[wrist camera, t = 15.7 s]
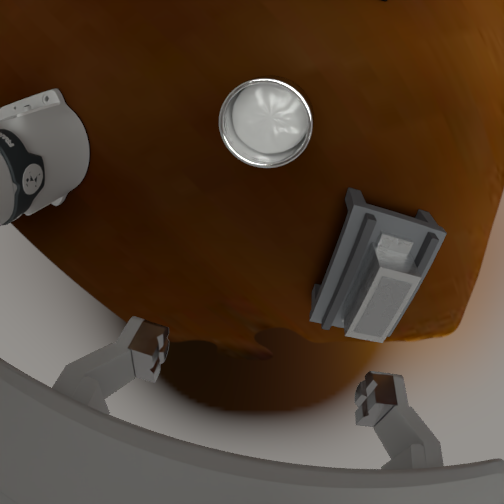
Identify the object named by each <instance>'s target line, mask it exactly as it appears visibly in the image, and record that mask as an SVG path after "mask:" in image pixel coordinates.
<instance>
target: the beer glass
mask: <svg viewBox="0 0 504 504" xmlns="http://www.w3.org/2000/svg"><path fill="white" fill-rule="evenodd" d="M313 126H314V111H313V106H312V103H311V101H310V99H309V97H308V95H307V94H306V93H305V91H304V90H303V89H302V88H301V87H300V86H299V85H297V84H296V83H294V82H293V81H291V80H289V79H287V78H284V77H280V76H273V75H267V76H260V77H256V78H253V79H251V80H248V81H247V82H244V83H242V84H241V85H239V86H237V87H236V88H235V89H234V90H232V91H231V92H230V94H229V95H228V96H227V97H226V99H225V101H224V102H223V104H222V107H221V110H220V114H219V130H220V134H221V137H222V140H223V142H224V144H225V145H226V147H227V148H228V150H229V151H230V152H231V153H232V154H233V155H234V156H235V157H236V158H238V159H239V160H241V161H242V162H244V163H246V164H249V165H251V166H255V167H260V168H274V167H279V166H282V165H285V164H287V163H289V162H291V161H293V160H294V159H296V158H297V157H298V156H299V155H300V154H301V153H302V152H303V151H304V150H305V148H306V147H307V145H308V143H309V141H310V138H311V135H312V130H313Z"/></svg>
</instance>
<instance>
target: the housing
mask: <svg viewBox="0 0 504 504" xmlns="http://www.w3.org/2000/svg"><path fill="white" fill-rule="evenodd" d="M412 245H413V241H412V240H411V239H408V238H405V237H401V236H398V235H395V234H391V233H388V232H384V231H381V232H380V234H379V237H378V239H377V242H376V243H375V242H372V243H371V245H370V248H369V250H368V252H367V255H366V257H365V259H364V262H363V264H362V266H361V269H360V271H359V273H358V275H357V277H356V280H355V282H354V284H353V286H352V288H351V291H350V293H349V295H348V297H347V299H346V301H345V303H344V305H343V308H342V309H343V316H342V322H344V330H345V336H348V337H353V338H358V339H364V340H369V341H375V342H380V343H383V341H384V340H385V338H386V337H387V335H388V334H389V332H390V331H391V329H392V327H393V326H394V324H395V323H396V321H397V319H398V318H399V316H400V314H401V313H402V311H403V309H404V308H405V306H406V304H407V303H408V301H409V299H410V297H411V296H412V294H413V292H414V290H415V289H416V287H417V285H418V283H419V281H420V280H421V278H422V277H421V275H420V273H419V271H418V269H417V267H416V264H415V262H414V260H413V258H412V256H411V254H410V250H411V247H412Z"/></svg>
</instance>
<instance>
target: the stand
mask: <svg viewBox="0 0 504 504" xmlns="http://www.w3.org/2000/svg"><path fill="white" fill-rule="evenodd" d="M345 202H346V205H347V209H348V213H347V216H346V219H345V222H344V225H343V228H342V231H341V233H340V236H339V239H338V242H337V244H336V247H335V250H334V253H333V255H332V258H331V261H330V263H329V266H328V269H327V271H326V274H325V276H324V279H323V282H322V284H321V285H319V284H315V285H314V288H313V290H312V309H311V312H310V321H312V322H317V323H322V329H326V330H329V329H330V327H331V326H336V327H341V328H344V322H342V316H343V309H342V308H343V305H344V303H345V301H346V299H347V297H348V295H349V293H350V291H351V288H352V286H353V284H354V282H355V280H356V277H357V275H358V273H359V271H360V269H361V266H362V264H363V262H364V259H365V257H366V255H367V252H368V250H369V248H370V245H371V243H372V242H375V243H376V242H377V239H378V237H379V234H380V232H381V231H384V232H388V233H391V234H395V235H398V236H401V237H405V238H408V239H411V240H412V241H413V245H412V247H411V250H410V254H411V256H412V258H413V260H414V262H415V264H416V267H417V269H418V271H419V273H420V275H421V277H422V278H421V280H420V281H419V283H418V285H417V287H416V289H415V290H414V292H413V294H412V296H411V297H410V299H409V301H408V303H407V304H406V306H405V308H404V309H403V311H402V313H401V314H400V316H399V318H398V319H397V321H396V323H395V324H394V326H393V327H392V329H391V331H390V332H389V334H388V335H387V336H389V337H390V335H391V333H392V332H393V330H394V329H395V327H396V326H397V324H398V322H399V321H400V319H401V317H402V316H403V314H404V312H405V311H406V309H407V307H408V306H409V304H410V302H411V301H412V299H413V297H414V295H415V294H416V292H417V290H418V288H419V287H420V285H421V283H422V281H423V279H424V277H425V276H426V274H427V272H428V270H429V268H430V266H431V264H432V262H433V260H434V258H435V256H436V254H437V252H438V250H439V248H440V246H441V244H442V242H443V240H444V238H445V236H446V234H447V233H446V232H445V230H444V229H443V228H442V227H440V226H438V224H437V223H436V222H435V220H434V219H433V218H432V216H431V215H430V214H429V212H426V211H423V210H420V209H419V210H418V212H417V215H416V217H415V218H413V217H410V216H407V215H403V214H400V213H397V212H394V211H390V210H387V209H384V208H381V207H377V206H374V205H370V204H367V203H366V202H365V200H364V198H363V195H362V193H361V191H359V190H356V189H352V188H349V187H348V190H347V193H346V197H345Z"/></svg>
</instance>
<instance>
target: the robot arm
mask: <svg viewBox="0 0 504 504" xmlns="http://www.w3.org/2000/svg"><path fill="white" fill-rule="evenodd" d="M48 98H49V100H48ZM88 164H89V142H88V138H87V134H86V131H85V128H84V126H83V124H82V122H81V121H80V119H79V118H78V116H77V115H76V114H75V113H74V112H73V111H72V110H71V109H70V108H69V107H68V106H67V104H66V103H65V101H64V98H63V96H62V94H61V92H60V91H59V90H58V89H56V88H55V89H51V90H48V91H45V92H42V93H39V94H36V95H33V96H30V97H27V98H24V99H22V100H19V101H16V102H14V103H11V104H9V105H6V106H4V107H2V108H1V109H0V226H1V225H6V224H8V223H10V222H12V221H14V220H16V219H17V218H19V217H20V216H21V215H22V214H26V215H31V214H33V213H35V212H37V211H38V210H40V209H42V208H44V207H45V206H47V205H49V204H52V205H55V206H58V205H60V204H62V203H63V201H64V200H65V198H66V196H67V194H68V193H69V192H70V191H71V190H73V189H74V188H76V187H77V186H78V185H79V184H80V183H81V181H82V180H83V178H84V176H85V174H86V172H87V168H88ZM168 334H169V328H168V327H166V326H163V325H160V324H157V323H154V322H151V321H148V320H145V319H141V318H138V317H135V316H133V317H132V318H130V320H129V322H128V323H127V325H126V326H125V328H124V330H123V331H122V333H121V335H120V336H119V338H118V340H117V341H116V343H115V344H113V343H111V344H109V345H107V346H105V347H103V348H101V349H98V350H97V351H94V352H92V353H90V354H88V355H86V356H84V357H82V358H80V359H78V360H76V361H74V362H72V363H70V364H68V365H66V367H65V368H64V370H63V371H62V373H61V374H60V376H59V378H58V379H57V381H56V382H55V384H54V385H53V387H52V388H51V387H49V386H47V385H45V384H43V383H41V382H39V381H38V380H36V379H34V378H32V377H31V376H28V375H27V374H25V373H24V372H22V371H20V370H19V369H17V368H15V367H14V366H12V365H10V364H9V363H7V362H6V361H4V360H3V359H1V358H0V504H504V460H502V459H492V460H486V461H481V462H474V463H468V464H460V465H452V466H443V459H442V452H441V446H440V442H439V441H438V439H437V438H436V437H435V436H434V434H433V433H432V432H431V431H430V429H429V428H428V427H427V426H426V424H425V423H424V422H423V421H422V419H421V418H420V417H419V416H418V414H417V413H416V412H415V411H414V409H413V408H412V407H409V406H408V400H407V394H406V390H405V384H404V379H403V376H402V375H397V374H390V373H382V372H374V371H370V372H368V373H367V374H366V375H365V380H364V381H362V382H360V384H359V385H358V387H357V389H356V392H355V404H356V405H357V406H358V409H357V410H356V412H355V415H356V425H360V426H370V427H374V430H375V432H376V433H377V435H378V437H379V439H380V440H381V442H382V444H383V446H384V447H385V449H386V451H387V453H388V454H389V456H390V458H391V460H390V461H389V462H388V463H386V464H385V465H383V466H382V467H381V469H377V470H376V469H345V468H331V467H330V468H329V467H319V466H309V465H300V464H292V463H285V462H278V461H272V460H265V459H260V458H254V457H249V456H243V455H239V454H234V453H230V452H225V451H221V450H217V449H213V448H208V447H205V446H201V445H197V444H193V443H190V442H186V441H183V440H179V439H175V438H173V437H169V436H166V435H163V434H160V433H157V432H154V431H151V430H148V429H145V428H142V427H140V426H137V425H134V424H131V423H129V422H126V421H124V420H121V419H118V418H116V417H113V416H111V415H109V413H110V412H109V410H108V407H107V405H106V402H105V398H107V397H108V396H110V395H111V394H113V393H114V392H116V391H117V390H119V389H120V388H122V387H123V386H124V385H126V384H127V383H129V382H130V381H132V380H133V379H135V377H137V378H140V379H143V380H147V381H150V382H153V383H155V381H156V379H157V377H158V375H159V372H160V364H161V363H163V362H164V361H165V359H166V356H167V353H168V348H169V340H168V339H167V337H168Z"/></svg>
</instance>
